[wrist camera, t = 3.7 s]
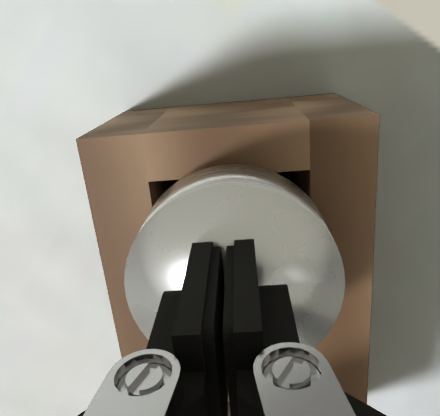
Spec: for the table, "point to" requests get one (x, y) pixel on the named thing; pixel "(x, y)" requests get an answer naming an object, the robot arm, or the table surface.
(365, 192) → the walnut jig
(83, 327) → the table surface
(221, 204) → the steel plug
